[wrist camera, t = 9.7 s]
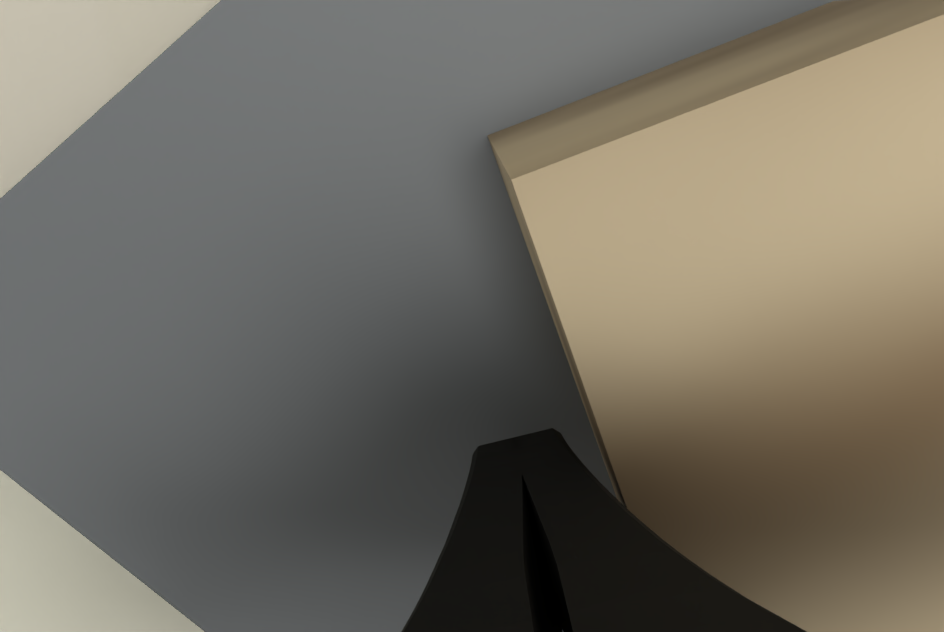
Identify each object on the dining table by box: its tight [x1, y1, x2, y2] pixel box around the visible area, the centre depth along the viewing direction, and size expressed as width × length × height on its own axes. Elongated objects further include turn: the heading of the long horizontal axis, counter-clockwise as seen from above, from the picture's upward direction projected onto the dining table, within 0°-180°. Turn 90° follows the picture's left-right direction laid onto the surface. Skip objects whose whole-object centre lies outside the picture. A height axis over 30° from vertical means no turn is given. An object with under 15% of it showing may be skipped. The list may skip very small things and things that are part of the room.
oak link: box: [487, 0, 944, 632], centre depth 11 cm, size 14×5×3 cm, turn 21°
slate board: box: [0, 0, 840, 632], centre depth 11 cm, size 22×21×6 cm
